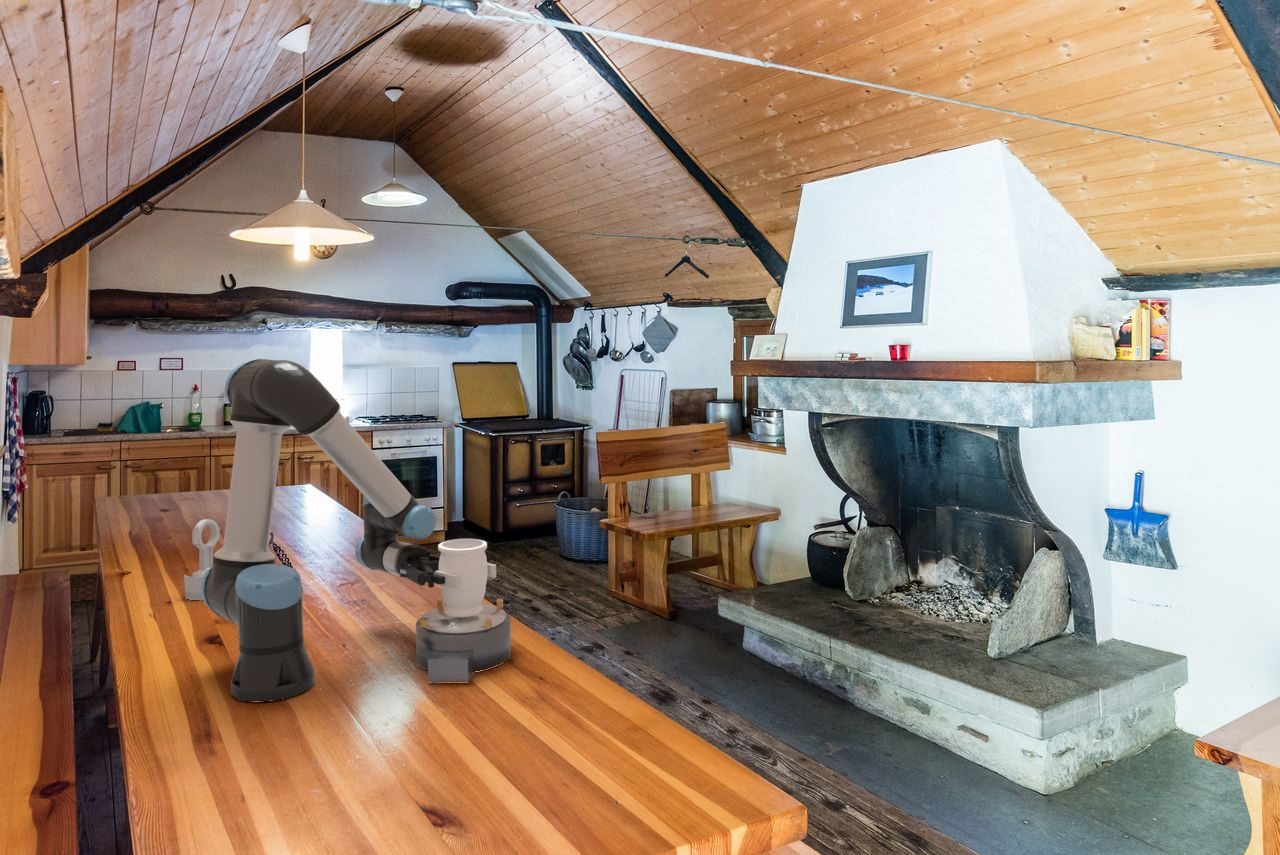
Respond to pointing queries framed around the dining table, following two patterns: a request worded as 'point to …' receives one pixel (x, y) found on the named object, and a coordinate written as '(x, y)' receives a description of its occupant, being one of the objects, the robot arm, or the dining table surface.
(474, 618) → the cylinder
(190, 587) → the engine component
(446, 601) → the jar
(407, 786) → the dining table surface
